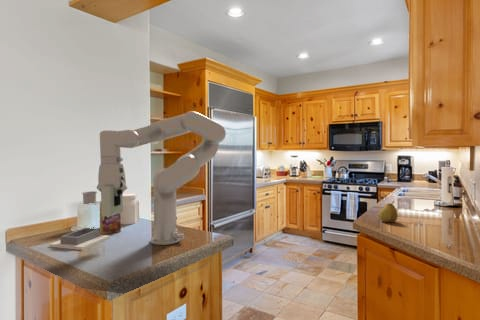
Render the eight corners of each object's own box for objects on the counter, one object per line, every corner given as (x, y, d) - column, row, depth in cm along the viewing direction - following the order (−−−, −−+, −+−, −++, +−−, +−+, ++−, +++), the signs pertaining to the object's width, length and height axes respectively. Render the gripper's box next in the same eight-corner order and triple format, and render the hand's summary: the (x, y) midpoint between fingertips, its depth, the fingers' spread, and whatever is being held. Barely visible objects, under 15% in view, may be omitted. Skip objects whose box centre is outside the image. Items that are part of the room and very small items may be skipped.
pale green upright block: (123, 212, 123) (122, 183, 123) (110, 216, 116) (109, 186, 115) (115, 211, 124) (114, 183, 124) (101, 216, 117) (100, 186, 116)
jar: (124, 219, 166) (124, 193, 166) (141, 219, 166) (140, 193, 166) (115, 224, 155) (115, 196, 154) (133, 224, 155) (133, 196, 154)
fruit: (375, 220, 164) (376, 199, 164) (389, 219, 167) (389, 198, 166) (386, 224, 156) (387, 202, 156) (401, 223, 158) (401, 201, 158)
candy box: (100, 235, 136) (100, 202, 135) (99, 232, 140) (99, 201, 139) (121, 232, 141) (120, 200, 140) (119, 230, 144) (118, 199, 144)
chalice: (86, 225, 152) (85, 191, 152) (99, 225, 153) (99, 191, 152) (79, 229, 145) (79, 193, 144) (94, 229, 146) (93, 193, 145)
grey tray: (109, 238, 131) (109, 228, 131) (82, 250, 116) (82, 239, 115) (80, 235, 135) (80, 226, 135) (49, 246, 119) (49, 236, 119)
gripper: (134, 160, 121) (135, 204, 121) (99, 160, 125) (101, 202, 126) (122, 161, 113) (124, 207, 114) (86, 161, 118) (88, 206, 118)
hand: (112, 204), depth 120 cm, fingers closed on pale green upright block, 4 cm apart
